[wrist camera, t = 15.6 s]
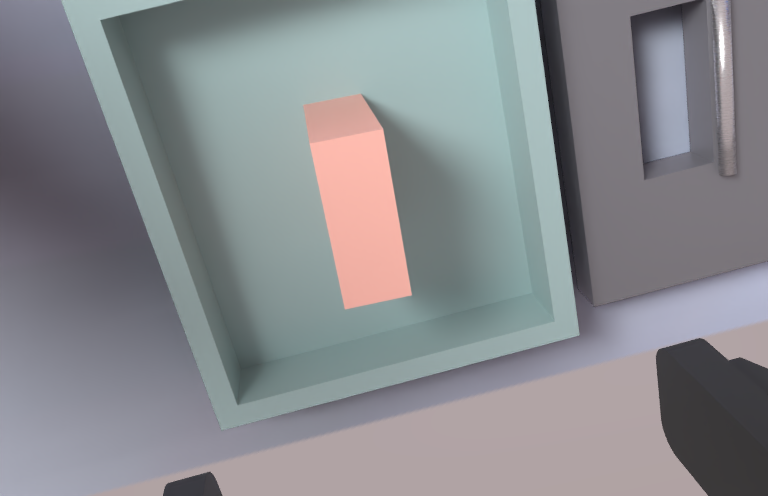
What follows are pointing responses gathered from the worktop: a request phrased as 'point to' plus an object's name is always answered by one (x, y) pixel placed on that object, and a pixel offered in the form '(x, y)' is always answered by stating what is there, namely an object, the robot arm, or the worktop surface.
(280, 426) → the worktop surface
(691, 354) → the robot arm
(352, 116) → the pink rubber eraser
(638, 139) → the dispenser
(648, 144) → the worktop surface
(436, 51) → the tray
